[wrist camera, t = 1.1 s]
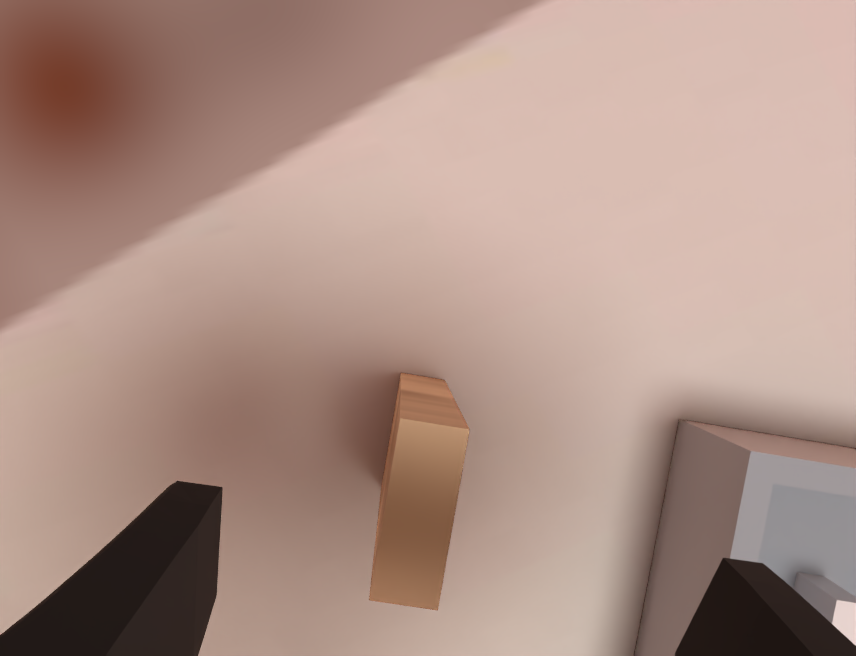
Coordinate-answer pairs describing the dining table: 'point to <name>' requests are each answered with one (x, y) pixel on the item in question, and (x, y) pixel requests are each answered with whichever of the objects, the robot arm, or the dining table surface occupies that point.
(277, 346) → the dining table surface
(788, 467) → the shallow gray planter box
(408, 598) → the wooden plank block
